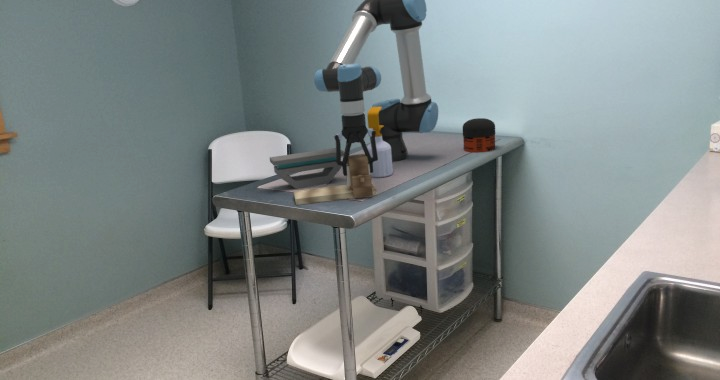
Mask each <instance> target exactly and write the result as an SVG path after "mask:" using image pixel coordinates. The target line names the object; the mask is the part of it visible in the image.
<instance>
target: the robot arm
mask: <svg viewBox="0 0 720 380" xmlns="http://www.w3.org/2000/svg"><path fill="white" fill-rule="evenodd" d="M426 16H427V3H426V0H363V2H361V3H360V4H359V5H358V7H357V8H356V9H355V11H354V12H353V14H352V16H351V24H350V25H349V27H348V28H347V30H346V33H345V35H344V36H343V38H342V39H341V41H340V43H339V45H338V47H337V49H336V50H335V52H334V54H333V56H332V58H331V59H330V61H329V63H328V65H327V67H326V68H322V69H321V68H320V69H318V70H317V71H316V72H315V73H314V77H313V79H314V80H313V81H314V82H313V83H314V86H315V89H317V90H318V91H320V92H327V93H332V92H338V93H339V104H340V113H341V114H342V115H341V116H340V117H341V126H342V129H341V132H340V133H334V134H333V137H334V140H335V148H336V163H337V164H338V165H341V166H342V167H341V169H342V174H343V176H344V177H346V185H348V186H351V183H350V172H349V166H348V165H347V161H348V157H349V155H350V152H351V147H352V144H355V143H360V145H361V149H362V151H363V154H365V155H366V156H367V157H368V170H369V175H370V173H373V162H374V161H377V160H378V156H377V149H376V142H375V135H376V132H375V131H374V130H373V129H369V128H367V124H366V114H365V113H364V112H365V111H366V110H365V101H364V92H368V91H373V90H374V89H376V88H377V87H379V86H380V84H381V82H382V73H381V71H380V70H379V69H378V68H377V67H376V66H369V65H368V66H364V67H361V65H360V64H359V63H355V62H356V60H357V59H358V57H359V55H360V52H361V51H362V49H363V47H364V45H365V44H366V41H367V40H368V39H369V37H370V34H372V33H373V32H374V31H376V29H377V27H378V26H381V25H389V28H390V31H391V32H392V33H394V34H395V40H396V47H397V54H398V63H399V67H400V76H401V77H400V78H401V83H402V89H403V90H402V91H403V97H402V98H401V99H400V98H392V99H388V100H387V99H386V100H383V101H382V100H381V101H378V102H375V103H373V104H372V105H371V107H382V109H381V110H380V112H379V114H378V117H379V125H384V127H382V128H381V130H379V132H380V134H382V140H383V141H385V142H387V143H388V144H389V145H390V146H391V155H392V162H396V161H402V160H405V159H407V158H409V151H408V150H409V149H408V147H407V145H406V143H405V141H404V138H403V133H408V134H409V133H415V134H416V133H417V134H423V133H426V134H428V133H431V132H433V131H434V129H435V128H436V126H437V123H438V119H439V106H438V104H437V103H436V102H434V101H432V96H431V95H430V94H429V93H427V86H426V80H425V79H426V78H425V71H424V62H423V55H422V46H421V38H420V31H419V30H420V29H421V27H422V26H423V22H424V21H425V20H426V18H427V17H426ZM366 135H368V137H369V141H370V143H371V148H372V155H373V157H372V158H371V156H370V154H369V151H368V149H367V146H368V145H367V144H366V142H365V138H366ZM342 137H344V139H345V140H346V141H345V148H344V150H343V151H344V156H343V157H342V156H341V150H342V149H341V145H342V144H341V141H342Z"/></svg>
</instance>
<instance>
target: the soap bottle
mask: <svg viewBox="0 0 720 380" xmlns="http://www.w3.org/2000/svg"><path fill="white" fill-rule="evenodd" d="M381 109H382V107H372V106H371V107H370V109H369V110H368V111H367V115H366V116H367V125H368V126H367V127H368V129H372V130H374V131H375V132H376V135H375V142H376V149H377V156H378V160H377V161H374V162H373V173H370V175H371V178H386V177H390V176H392V175H393V161H392V155H391V146H390V145H389V144H388V143H387V142H385V141H383V140H382V134H380V132H379V130H381V128H382V127H384V125H379V117H378V114H379V112H380V110H381ZM366 146H367V149H368V151H369V154H370V156H371V158H372V157H373V155H372V148H371V142H370V143H369V144H367V145H366Z"/></svg>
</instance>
